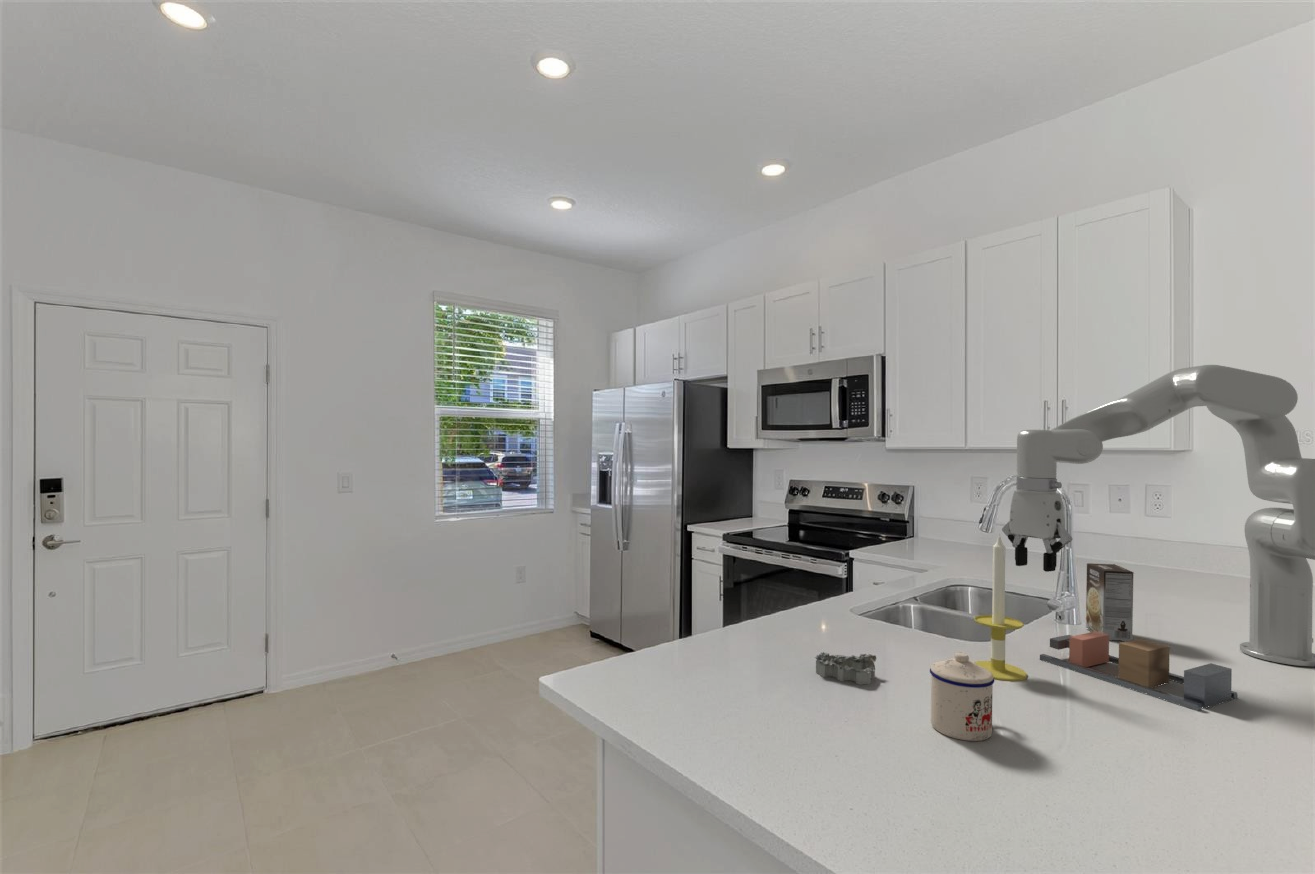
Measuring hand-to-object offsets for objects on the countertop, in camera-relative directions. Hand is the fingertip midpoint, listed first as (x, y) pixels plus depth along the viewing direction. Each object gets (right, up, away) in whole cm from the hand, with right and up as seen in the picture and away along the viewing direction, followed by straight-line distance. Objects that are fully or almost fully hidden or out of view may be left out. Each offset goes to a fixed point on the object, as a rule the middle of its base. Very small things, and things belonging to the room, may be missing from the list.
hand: (1035, 567), depth 139 cm
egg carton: (-47, -17, -18) cm, 53 cm away
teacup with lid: (-34, -17, -39) cm, 55 cm away
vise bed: (+8, -18, -17) cm, 26 cm away
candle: (-16, -18, -15) cm, 28 cm away
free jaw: (+4, -17, -8) cm, 19 cm away
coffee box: (+23, -18, +10) cm, 31 cm away
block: (+9, -18, -19) cm, 28 cm away
